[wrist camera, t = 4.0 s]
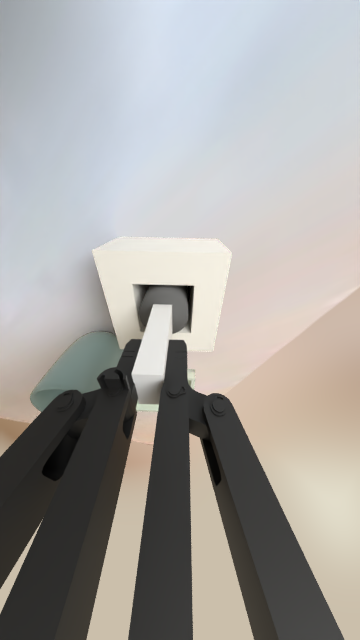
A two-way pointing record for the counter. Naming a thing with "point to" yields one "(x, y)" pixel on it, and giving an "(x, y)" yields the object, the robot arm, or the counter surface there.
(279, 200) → the counter surface
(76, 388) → the cup
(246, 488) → the robot arm
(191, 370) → the tray
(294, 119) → the counter surface
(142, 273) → the housing
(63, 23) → the counter surface
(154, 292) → the grey oval solid
